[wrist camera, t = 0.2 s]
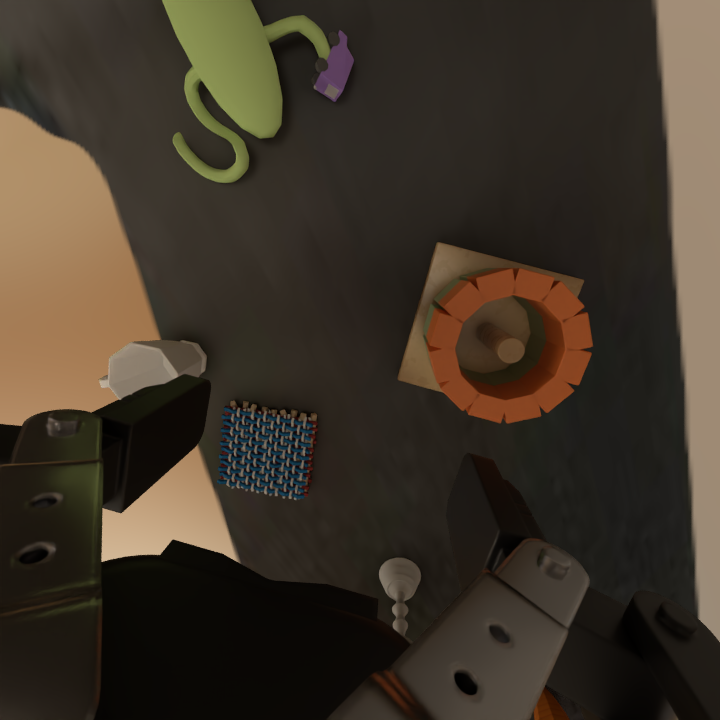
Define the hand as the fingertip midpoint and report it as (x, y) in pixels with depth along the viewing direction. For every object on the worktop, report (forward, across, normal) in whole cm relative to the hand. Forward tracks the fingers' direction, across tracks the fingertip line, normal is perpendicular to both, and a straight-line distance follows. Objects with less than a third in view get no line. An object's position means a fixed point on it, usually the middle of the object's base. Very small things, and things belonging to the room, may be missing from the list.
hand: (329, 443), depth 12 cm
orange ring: (+24, -11, -2) cm, 26 cm away
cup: (+29, +20, +10) cm, 37 cm away
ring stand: (+29, -11, -2) cm, 31 cm away
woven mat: (+29, +8, +17) cm, 35 cm away
